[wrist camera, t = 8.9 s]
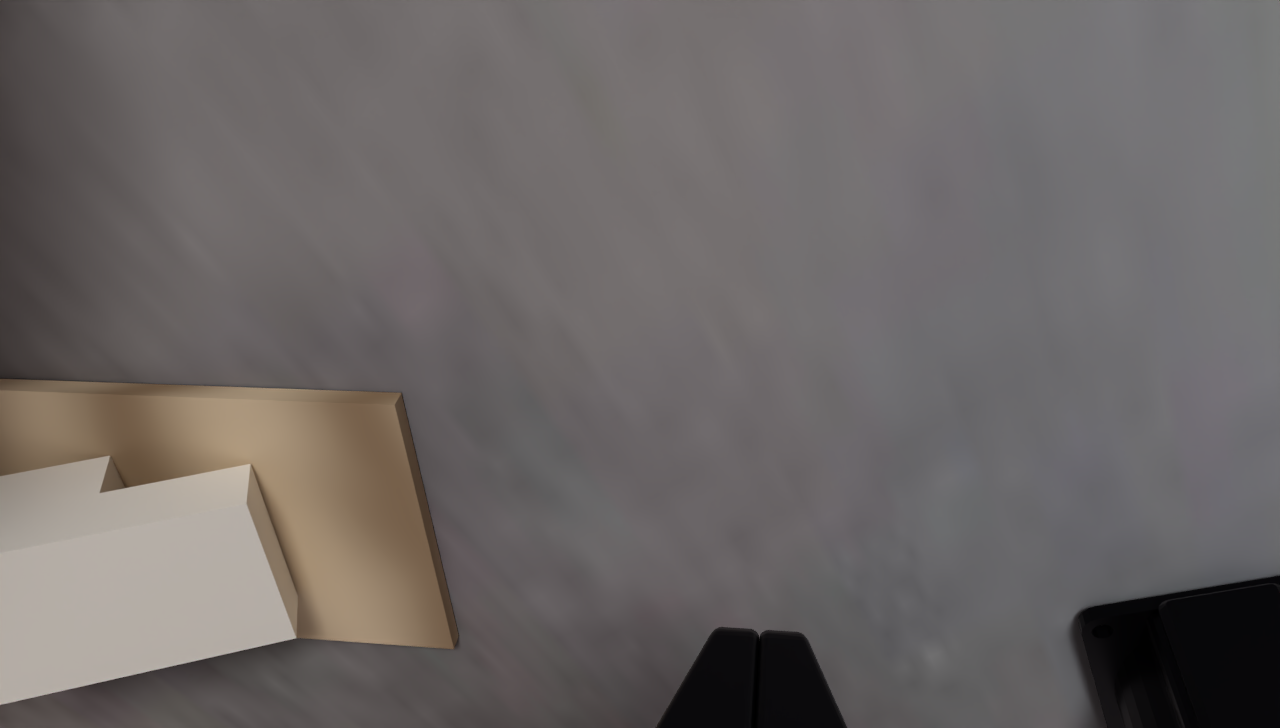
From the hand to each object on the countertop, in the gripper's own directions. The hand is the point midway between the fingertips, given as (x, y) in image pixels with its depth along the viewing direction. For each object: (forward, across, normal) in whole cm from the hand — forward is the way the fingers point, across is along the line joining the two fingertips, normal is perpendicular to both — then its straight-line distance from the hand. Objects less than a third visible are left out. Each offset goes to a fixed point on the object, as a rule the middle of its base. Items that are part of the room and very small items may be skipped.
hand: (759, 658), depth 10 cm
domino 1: (+12, +13, +11) cm, 21 cm away
